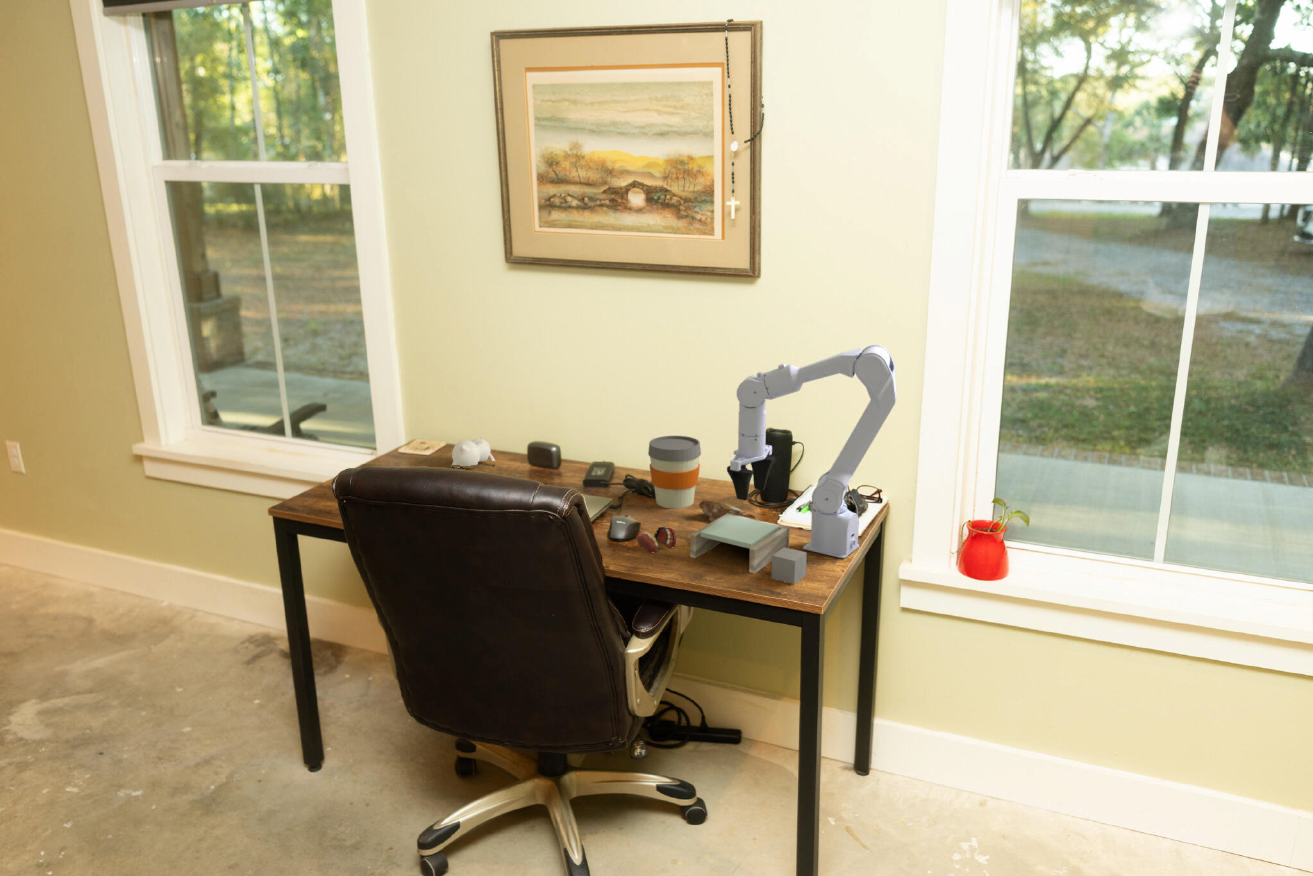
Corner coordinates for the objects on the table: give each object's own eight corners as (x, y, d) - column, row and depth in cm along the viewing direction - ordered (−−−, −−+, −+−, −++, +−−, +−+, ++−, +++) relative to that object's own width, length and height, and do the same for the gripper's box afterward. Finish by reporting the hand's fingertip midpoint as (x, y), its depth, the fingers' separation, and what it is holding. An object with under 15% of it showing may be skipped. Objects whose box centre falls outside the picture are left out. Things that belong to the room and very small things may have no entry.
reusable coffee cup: (666, 514, 224) (665, 453, 220) (639, 499, 234) (638, 440, 230) (710, 504, 230) (711, 444, 226) (683, 490, 241) (682, 432, 236)
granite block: (805, 576, 190) (806, 552, 189) (794, 584, 186) (795, 561, 185) (783, 570, 193) (783, 547, 192) (771, 579, 189) (772, 555, 188)
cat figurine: (482, 427, 264) (452, 436, 254) (508, 451, 261) (479, 461, 251) (470, 450, 269) (440, 460, 258) (496, 475, 266) (467, 486, 256)
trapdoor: (729, 519, 208) (729, 514, 208) (779, 530, 201) (779, 525, 201) (700, 536, 199) (700, 532, 198) (750, 548, 192) (750, 544, 192)
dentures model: (633, 528, 205) (665, 521, 209) (633, 546, 206) (664, 539, 210) (648, 537, 200) (679, 530, 204) (647, 556, 201) (679, 548, 206)
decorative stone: (717, 489, 226) (771, 510, 218) (715, 506, 228) (768, 527, 219) (693, 499, 219) (747, 521, 210) (691, 517, 220) (745, 539, 212)
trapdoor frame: (788, 549, 203) (789, 527, 202) (754, 573, 191) (755, 550, 190) (726, 534, 211) (727, 513, 210) (690, 556, 200) (690, 534, 198)
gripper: (752, 422, 210) (751, 481, 214) (717, 438, 199) (717, 500, 202) (781, 427, 206) (779, 487, 210) (747, 443, 195) (746, 506, 198)
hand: (750, 494), depth 206 cm, fingers open, 7 cm apart
